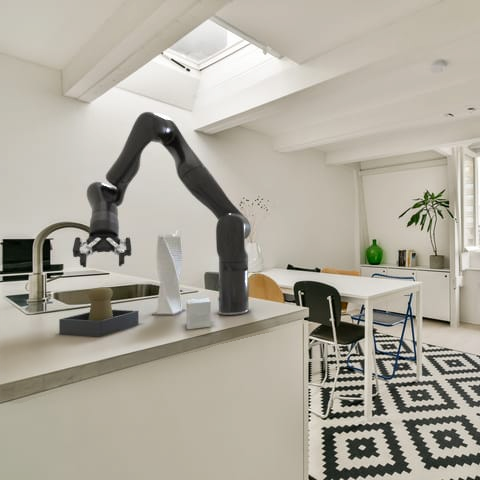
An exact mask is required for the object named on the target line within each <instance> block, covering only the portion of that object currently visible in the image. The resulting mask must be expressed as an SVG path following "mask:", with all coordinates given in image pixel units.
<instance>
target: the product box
mask: <svg viewBox="0 0 480 480" xmlns="http://www.w3.org/2000/svg"><path fill="white" fill-rule="evenodd" d="M211 305H212V301H211V300H210V298H209V297H205V298H204V297H203V298H193V299H186V324H185V325H186V329H187V330H194V329H202V328H210V327H211V326H212V325H211V319H212V318H211V317H212V316H211V315H212V314H211V313H212V311H211V310H212V309H211Z"/></svg>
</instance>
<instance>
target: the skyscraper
mask: <svg viewBox="0 0 480 480" xmlns="http://www.w3.org/2000/svg"><path fill="white" fill-rule="evenodd" d="M178 232H179V236H177V235H178ZM182 234H183V230H182V229H181V228H178V229H177V230H176V231H175V233H164V234H163V233H159V234H158V235H157V241H156V270H157V275H158V279H159V288H158V296H157V305H156V311H155V312H153V313H151V316H175V315H178V314H180V313H181V312H184V311H185V310H186V309H185V308H182V306H183V305H182V295H181V287H180V280H179V278H180V274H181V269H182V263H183V242H182Z"/></svg>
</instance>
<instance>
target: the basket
mask: <svg viewBox="0 0 480 480" xmlns="http://www.w3.org/2000/svg"><path fill="white" fill-rule="evenodd" d="M89 313H90V311H88V312H83V313H79V314H76V315H72V316H68V317H63V318H59V320H58V323H59V324H58V328H59V329H58V332H59V333H58V334H59V335H66V336H67V335H68V336H79V337H81V336H82V337H94V338H95V337H96V338H101V337H104V336H106V335H110V334H112V333H116V332H119V331H122V330H125V329H128V328H131V327H134V326H138V325H139V324H140V323H139V310H129V309H128V310H126V309H112V313H113V318H109V319H105V320H102V321H90V320H89Z"/></svg>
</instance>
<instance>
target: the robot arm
mask: <svg viewBox="0 0 480 480" xmlns="http://www.w3.org/2000/svg"><path fill="white" fill-rule="evenodd" d="M152 142H153V143H159V144H161V145H162V146H163V148H164V149H166V150H167V152H168V153H169V154H170V155H171V157H172V158H173V160H174V165H175V170H176V175H177V177H178V179H179V181H180V182H181V183H182V184H183V186H184V187H185V188H186V189H187V191H188V192H189V193H190V194H191V195H192V196H193V197H194V198H195V199H196V200H197V201H198V202H200V203H201V204H202V205H203V206H205V207H206V208H207V209H208V210H209V211H210V212H211V213H212V214H213V215H214V216H215V218H216V219H217V222H216V227H215V242H216V243H215V244H216V253H217V256H218V296H217V301H218V312H217V313H218V314H219V315H222V316H237V315H244V314H246V313H248V312H249V294H250V293H249V254H248V252H247V250H246V243H245V242H246V239H247V238H249V237H250V235H251V231H252V227H251V222H250V221H249V219H248V218H247V217H246V215H244V214H243V212H241V211H240V210H239V209H238V207H236V205H234V203H233V202H232V201H231V200H230V198H229V197H228V196H227V195H226V193H225V191H224V190H223V188H222V187H221V186H220V184H219V183H218V181H217V180H216V179H215V177H214V176H213V174H212V173H211V172H210V170H209V169H208V168H207V167H206V165H205V164H204V163H203V162H202V160H201V159H200V157H199V156H197V154H196V153H195V151H194V150H193V149H192V148H191V146H190V145H189V143H188V142H187V140H186V139H185V137H184V135H183V134H182V132H181V130H179V127H178V126H177V124H176V123H175V121H173V120H172V119H171V118H170V117H168V116H166V115H163V114H160V113H155V112H152V111H145V112H142V113H140V114H139V115H138V117H137V118H136V119H135V120H134V123H133V126H132V127H131V130H130V132H129V134H128V137H127V138H126V141H125V143H124V146H123V148H122V150H121V152H120V154H119V155H118V157H117V158H116V160H115V161H114V162H113V164H112V165H111V167H110V168H109V169H108V171H107V172H106V174H105V180H106V181H107V182H108V183H109V184H110V185H109V184H106V183H104V182H101V181H94V182H92V183H90V184H89V185H88V186H87V189H86V198H87V201H88V203H89V206H90V208H91V217H90V220H89V231H88V237H87V238H86V239H83V238H82V239H81V237H79V236H77V237H75V238H74V242H73V246H72V256H73V258H79V265H80V266H82V268H87V262H88V261H87V259H88V257H89V256H92V255H93V254H95V253H110V252H112V253H113V254H114V255H117V256H118V267H122V265H125V257H127V256H128V257H131V256H132V245H131V244H132V242H131V238H130V237H125V239H120V237H119V234H120V233H119V232H120V224H119V223H120V222H119V209H118V207H120V206H121V205H122V204H123V202H124V199H125V195H126V191H127V189H128V188H129V185H130V184H131V182H132V181H133V180H134V178H135V177H136V175H138V172H139V170H140V167H141V160H142V159H141V158H142V154H143V152H144V150H145V148H146V147H148V145H149V144H150V143H152ZM111 185H112V186H111ZM120 245H122V246H123V247H125V249H123V248H122V247H121V246H120ZM84 246H85V247H84ZM82 247H84V248H83V249H82V250H81V248H82Z"/></svg>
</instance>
